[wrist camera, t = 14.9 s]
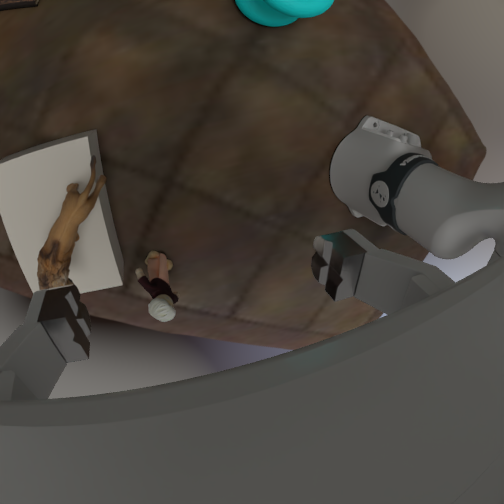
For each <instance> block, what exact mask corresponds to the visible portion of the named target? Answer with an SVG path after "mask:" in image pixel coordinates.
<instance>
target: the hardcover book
mask: <svg viewBox="0 0 504 504" xmlns="http://www.w3.org/2000/svg"><path fill="white" fill-rule="evenodd" d="M38 1H39V0H0V11H1V10H8V9H16V8H25V7H36V6H38V5H37V3H38Z"/></svg>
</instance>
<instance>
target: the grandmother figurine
mask: <svg viewBox="0 0 504 504" xmlns="http://www.w3.org/2000/svg"><path fill="white" fill-rule="evenodd" d="M145 263H146V264H147V265H148V274H149V280H148V278H147V277H146V276H145V275H144V273H143V270H142V269H141V268H137V269H136V271H135V273H136V274H137V277H138V282H139V283H140V284H141V285H142V286H143V287H144V289H145V290H146V291H147V292H149V293H150V295H151V296H152V298H153V300H152V301H151V302H150V304H148V306H149V313H150V314H151V315H152V316H153V317H154V318H156V319H158V320H160V321H162V322H166V321H169V320H171V319H173V318H174V316H175V313H176V311H175V309H174V308H173V304H175V303H176V302H177V301H178V297H179V293H178V292H173V293H172V291H171V288H170V285H169V277H168V270H170V269H171V268H172V267H173V263H172V261H171V260H169V259H166V256H165V255H164V254H162V253H158V252H157V251H151V252H150V253H149V254H148V256H147V258H146V260H145Z"/></svg>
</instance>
